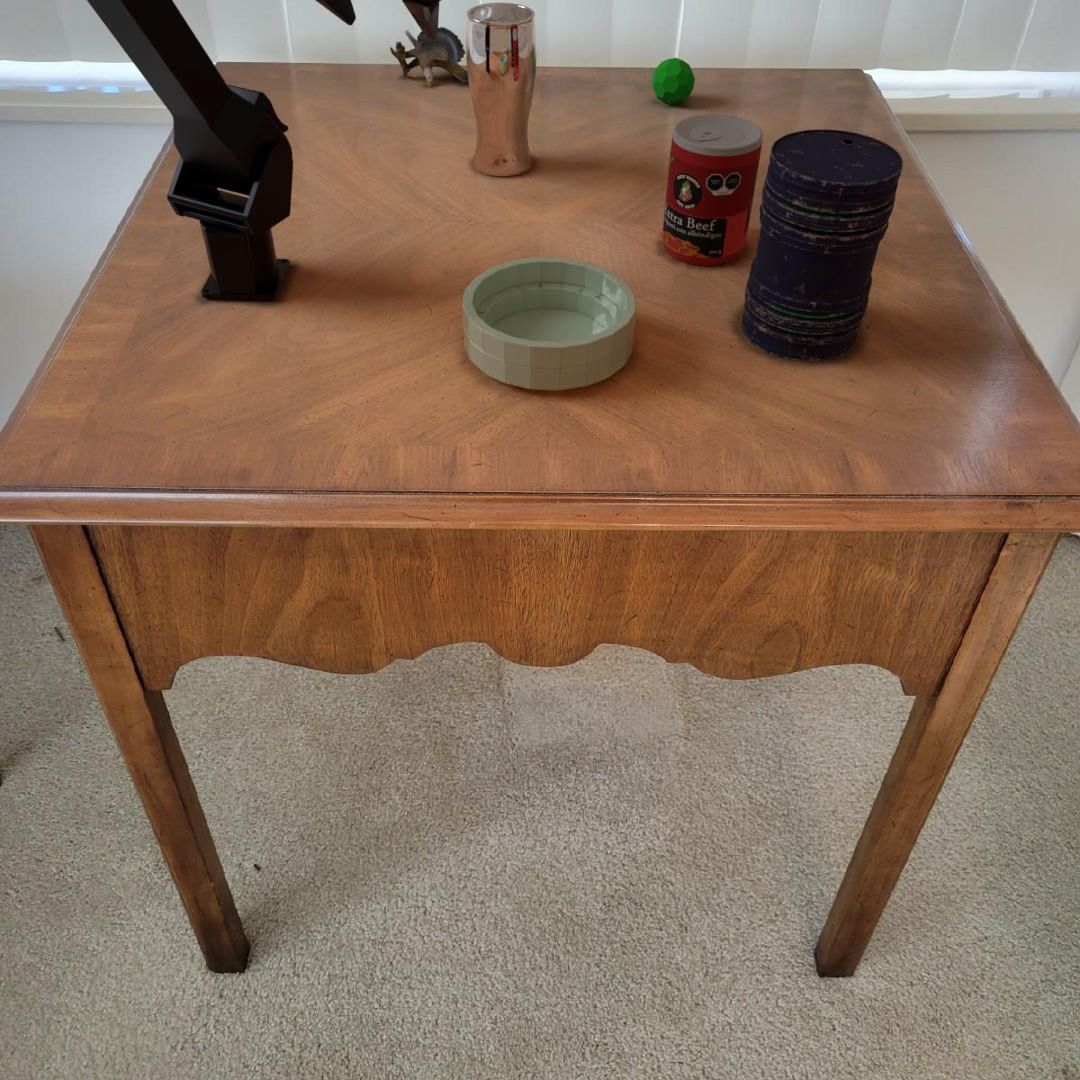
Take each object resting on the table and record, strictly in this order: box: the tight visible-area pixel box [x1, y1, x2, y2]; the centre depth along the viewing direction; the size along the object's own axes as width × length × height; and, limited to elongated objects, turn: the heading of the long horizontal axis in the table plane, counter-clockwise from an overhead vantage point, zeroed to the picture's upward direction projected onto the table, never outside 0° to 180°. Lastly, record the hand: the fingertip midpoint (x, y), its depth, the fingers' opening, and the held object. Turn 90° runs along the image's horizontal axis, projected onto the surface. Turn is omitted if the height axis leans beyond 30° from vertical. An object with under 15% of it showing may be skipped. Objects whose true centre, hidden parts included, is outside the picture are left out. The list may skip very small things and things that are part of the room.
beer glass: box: [465, 2, 537, 177], centre depth 104 cm, size 7×7×15 cm
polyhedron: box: [651, 57, 696, 106], centre depth 120 cm, size 5×5×5 cm
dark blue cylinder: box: [740, 128, 904, 363], centre depth 81 cm, size 10×10×15 cm
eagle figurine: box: [389, 26, 469, 87], centre depth 124 cm, size 8×7×9 cm
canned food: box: [661, 113, 764, 266], centre depth 92 cm, size 8×8×11 cm
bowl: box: [461, 256, 637, 391], centre depth 82 cm, size 14×14×4 cm
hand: (392, 29), depth 98 cm, fingers open, 9 cm apart
